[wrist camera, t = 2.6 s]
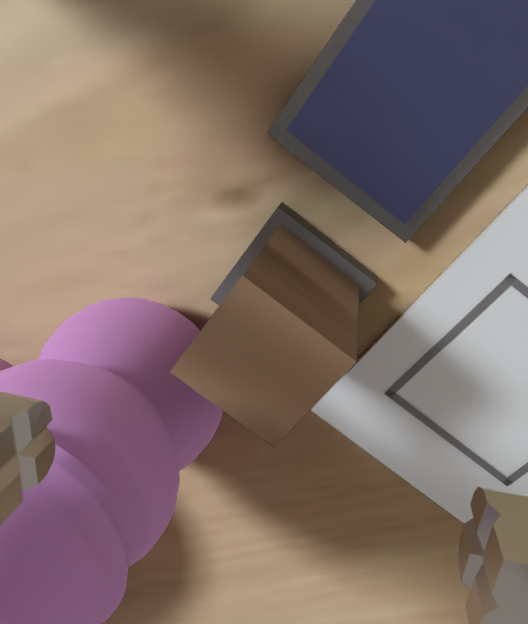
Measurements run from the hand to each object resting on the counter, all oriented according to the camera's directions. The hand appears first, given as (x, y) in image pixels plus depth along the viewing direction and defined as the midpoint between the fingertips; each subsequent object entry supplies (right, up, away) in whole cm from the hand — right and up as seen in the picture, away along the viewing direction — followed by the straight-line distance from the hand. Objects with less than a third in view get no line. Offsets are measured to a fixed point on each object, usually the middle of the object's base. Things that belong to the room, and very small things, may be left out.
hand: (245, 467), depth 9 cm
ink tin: (+5, +10, +7) cm, 13 cm away
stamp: (+2, +4, +10) cm, 11 cm away
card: (+10, 0, +10) cm, 14 cm away
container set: (-12, -3, +16) cm, 20 cm away
